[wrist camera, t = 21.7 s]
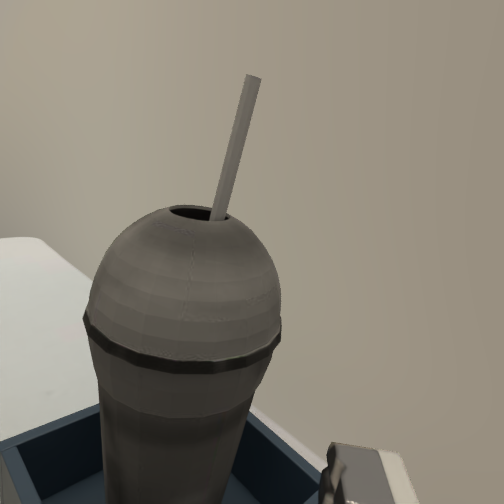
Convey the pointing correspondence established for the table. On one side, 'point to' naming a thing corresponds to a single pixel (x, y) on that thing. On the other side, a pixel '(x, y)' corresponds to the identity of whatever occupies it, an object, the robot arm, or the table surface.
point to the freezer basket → (92, 474)
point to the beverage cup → (182, 342)
